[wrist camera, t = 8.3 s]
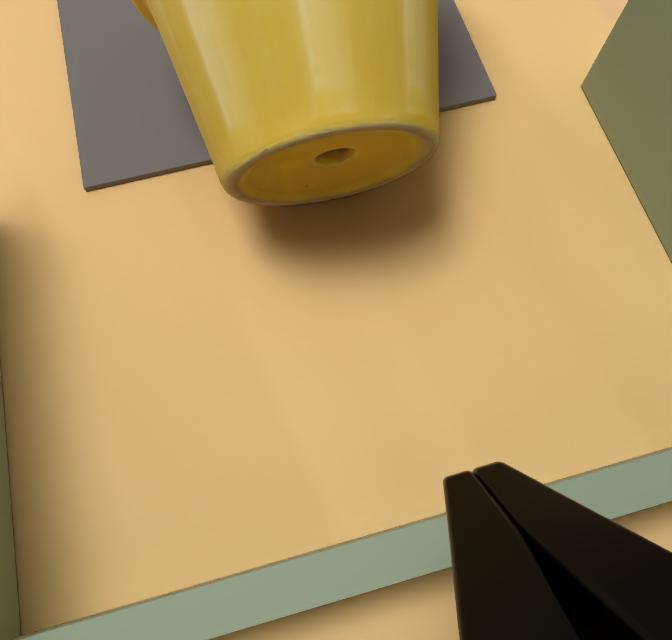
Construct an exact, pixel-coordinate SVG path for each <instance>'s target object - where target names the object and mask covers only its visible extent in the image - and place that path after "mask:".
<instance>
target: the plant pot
mask: <svg viewBox="0 0 672 640" xmlns="http://www.w3.org/2000/svg"><path fill="white" fill-rule="evenodd" d="M131 1H132V3H133V4H134V6H135V7H136V9H137V10H138V11H139V13H140V14H141V15H142V16H143V17H144V19H145V20H146V21H147V22H148V23H149V24H151V25H152V26H153V27H154V28H155V29H156V30H158V31H159V32H160V34H161V37H162V39H163V41H164V44H165V46H166V49H167V51H168V53H169V56H170V58H171V61H172V63H173V66H174V68H175V71H176V73H177V76H178V78H179V80H180V83H181V85H182V88H183V90H184V93H185V95H186V98H187V100H188V103H189V105H190V107H191V110H192V112H193V115H194V117H195V120H196V122H197V125H198V127H199V130H200V132H201V135H202V137H203V139H204V142H205V144H206V147H207V149H208V152H209V154H210V157H211V159H212V162H213V164H214V167H215V169H216V172H217V174H218V177H219V179H220V182H221V185H222V186H223V188H224V189H225V191H226V192H227V193H228V194H230V195H231V196H232V197H234V198H236V199H238V200H241V201H244V202H248V203H253V204H261V205H294V204H307V203H313V202H320V201H326V200H332V199H337V198H341V197H345V196H349V195H353V194H356V193H359V192H363V191H366V190H369V189H372V188H375V187H378V186H381V185H384V184H386V183H389V182H391V181H394V180H396V179H398V178H400V177H402V176H404V175H406V174H408V173H410V172H412V171H413V170H415V169H416V168H418V167H419V166H421V165H422V164H423V163H425V162H426V161H427V160H428V159H429V158H430V157H431V156H432V155H433V153H434V152H435V151H436V149H437V147H438V144H439V140H440V132H439V85H438V0H131Z"/></svg>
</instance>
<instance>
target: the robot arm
mask: <svg viewBox="0 0 672 640" xmlns="http://www.w3.org/2000/svg"><path fill="white" fill-rule="evenodd" d="M443 486H444V495H445V505H446V514H447V524H448V533H449V543H450V552H451V562H452V571H453V581H454V591H455V600H456V610H457V619H458V629H459V638H460V640H672V552H670V551H668V550H666V549H664V548H662V547H661V546H659V545H657V544H655V543H653V542H651V541H649V540H647V539H646V538H644V537H642V536H640V535H638V534H636V533H634V532H632V531H631V530H629V529H627V528H625V527H623V526H621V525H619V524H617V523H616V522H614V521H612V520H610V519H608V518H606V517H604V516H602V515H600V514H599V513H597V512H595V511H593V510H591V509H589V508H587V507H585V506H584V505H582V504H580V503H578V502H576V501H574V500H572V499H570V498H569V497H567V496H565V495H563V494H561V493H559V492H557V491H555V490H554V489H552V488H550V487H548V486H546V485H544V484H542V483H540V482H539V481H537V480H535V479H533V478H531V477H529V476H527V475H525V474H524V473H522V472H520V471H518V470H516V469H514V468H512V467H510V466H509V465H507V464H505V463H502V462H494V463H491V464H487V465H484V466H481V467H477V468H475V469H474V470H473V472H470V471H464V472H461V473H457V474H454V475H451V476H447V477H445V478H444V480H443Z"/></svg>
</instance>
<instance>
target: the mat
mask: <svg viewBox="0 0 672 640" xmlns="http://www.w3.org/2000/svg"><path fill="white" fill-rule="evenodd" d="M57 2H58V9H59V17H60V24H61V31H62V38H63V45H64V52H65V59H66V66H67V73H68V80H69V87H70V94H71V101H72V108H73V116H74V123H75V130H76V137H77V144H78V151H79V158H80V165H81V172H82V179H83V186H84V189H85V190H86V192H87V191H92V190H96V189H101V188H105V187H110V186H114V185H118V184H123V183H127V182H132V181H136V180H141V179H145V178H149V177H154V176H158V175H163V174H167V173H172V172H176V171H181V170H185V169H189V168H194V167H198V166H203V165H207V164H212V163H213V162H212V159H211V157H210V154H209V152H208V149H207V147H206V144H205V142H204V139H203V137H202V135H201V132H200V130H199V127H198V125H197V122H196V120H195V117H194V115H193V112H192V110H191V107H190V105H189V103H188V100H187V98H186V95H185V93H184V90H183V88H182V85H181V83H180V80H179V78H178V76H177V73H176V71H175V68H174V66H173V63H172V61H171V58H170V56H169V53H168V51H167V49H166V46H165V44H164V41H163V39H162V37H161V34H160V32H159V31H158V30H156V29H155V28H154V27H153V26H152V25H151V24H149V23H148V22H147V21H146V20H145V19H144V17H143V16H142V15H141V14H140V13H139V11H138V10H137V9H136V7H135V6H134V4H133V3H132V1H131V0H57ZM438 85H439V112H442V111H447V110H451V109H456V108H460V107H464V106H469V105H473V104H478V103H482V102H487V101H491V100H495V98H496V93H495V91H494V88H493V86H492V84H491V82H490V79H489V77H488V75H487V73H486V71H485V68H484V66H483V64H482V62H481V60H480V57H479V55H478V53H477V51H476V48H475V46H474V44H473V42H472V40H471V37H470V35H469V33H468V31H467V28H466V26H465V24H464V22H463V20H462V17H461V15H460V13H459V11H458V9H457V6H456V4H455V2H454V0H438Z"/></svg>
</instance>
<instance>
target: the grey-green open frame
mask: <svg viewBox="0 0 672 640" xmlns="http://www.w3.org/2000/svg"><path fill="white" fill-rule="evenodd" d="M581 87H582V89H583V91H584V93H585V95H586V97H587V99H588V101H589V102H590V104H591V106H592V108H593V110H594V112H595V114H596V116H597V118H598V120H599V122H600V124H601V126H602V128H603V130H604V132H605V134H606V135H607V137H608V139H609V141H610V143H611V145H612V147H613V149H614V151H615V153H616V155H617V157H618V159H619V161H620V163H621V165H622V166H623V168H624V170H625V172H626V174H627V176H628V178H629V180H630V182H631V184H632V186H633V188H634V190H635V192H636V194H637V196H638V197H639V199H640V201H641V203H642V205H643V207H644V209H645V211H646V213H647V215H648V217H649V219H650V221H651V223H652V225H653V227H654V228H655V230H656V232H657V234H658V236H659V238H660V240H661V242H662V244H663V246H664V248H665V250H666V252H667V254H668V256H669V258H670V260H671V261H672V0H628V2H627V4H626V6H625V8H624V9H623V11H622V13H621V15H620V17H619V18H618V20H617V22H616V24H615V26H614V27H613V29H612V31H611V33H610V35H609V36H608V38H607V40H606V42H605V44H604V45H603V47H602V49H601V51H600V53H599V54H598V56H597V58H596V60H595V62H594V63H593V65H592V67H591V69H590V71H589V72H588V74H587V76H586V78H585V80H584V81H583V83H582V85H581ZM544 485H546V486H548V487H550V488H552V489H554V490H555V491H557V492H559V493H561V494H563V495H565V496H567V497H569V498H570V499H572V500H574V501H576V502H578V503H580V504H582V505H584V506H585V507H587V508H589V509H591V510H593V511H595V512H597V513H599V514H600V515H602V516H604V517H606V518H608V519H613V518H616V517H619V516H623V515H626V514H629V513H633V512H636V511H639V510H643V509H646V508H649V507H653V506H656V505H659V504H663V503H666V502H669V501H672V447H670V448H667V449H663V450H660V451H656V452H653V453H650V454H646V455H643V456H639V457H636V458H632V459H629V460H625V461H622V462H619V463H615V464H612V465H608V466H605V467H601V468H598V469H594V470H591V471H588V472H584V473H581V474H577V475H574V476H570V477H567V478H563V479H560V480H557V481H553V482H550V483H546V484H544ZM449 567H452V562H451V552H450V543H449V533H448V524H447V514H446V513H443V514H439V515H436V516H432V517H429V518H426V519H422V520H419V521H415V522H412V523H408V524H405V525H401V526H398V527H395V528H391V529H388V530H384V531H381V532H377V533H374V534H370V535H367V536H364V537H360V538H357V539H353V540H350V541H346V542H343V543H339V544H336V545H333V546H329V547H326V548H322V549H319V550H315V551H312V552H308V553H305V554H302V555H298V556H295V557H291V558H288V559H284V560H281V561H277V562H274V563H271V564H267V565H264V566H260V567H257V568H253V569H250V570H246V571H243V572H240V573H236V574H233V575H229V576H226V577H222V578H219V579H215V580H212V581H209V582H205V583H202V584H198V585H195V586H191V587H188V588H184V589H181V590H178V591H174V592H171V593H167V594H164V595H160V596H157V597H153V598H150V599H147V600H143V601H140V602H136V603H133V604H129V605H126V606H122V607H119V608H116V609H112V610H109V611H105V612H102V613H98V614H95V615H91V616H88V617H85V618H81V619H78V620H74V621H71V622H67V623H64V624H60V625H57V626H54V627H50V628H47V629H43V630H40V631H36V632H33V633H29V634H26V635H23V636H21V629H20V616H19V603H18V590H17V576H16V563H15V550H14V537H13V523H12V510H11V497H10V484H9V471H8V457H7V444H6V431H5V418H4V404H3V391H2V378H1V365H0V640H208V639H212V638H215V637H218V636H222V635H225V634H228V633H232V632H235V631H238V630H242V629H245V628H248V627H252V626H255V625H258V624H262V623H265V622H268V621H272V620H275V619H278V618H282V617H285V616H289V615H292V614H295V613H299V612H302V611H305V610H309V609H312V608H315V607H319V606H322V605H325V604H329V603H332V602H335V601H339V600H342V599H345V598H349V597H352V596H355V595H359V594H362V593H365V592H369V591H372V590H375V589H379V588H382V587H385V586H389V585H392V584H395V583H399V582H402V581H405V580H409V579H412V578H415V577H419V576H422V575H426V574H429V573H432V572H436V571H439V570H442V569H446V568H449Z"/></svg>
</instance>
